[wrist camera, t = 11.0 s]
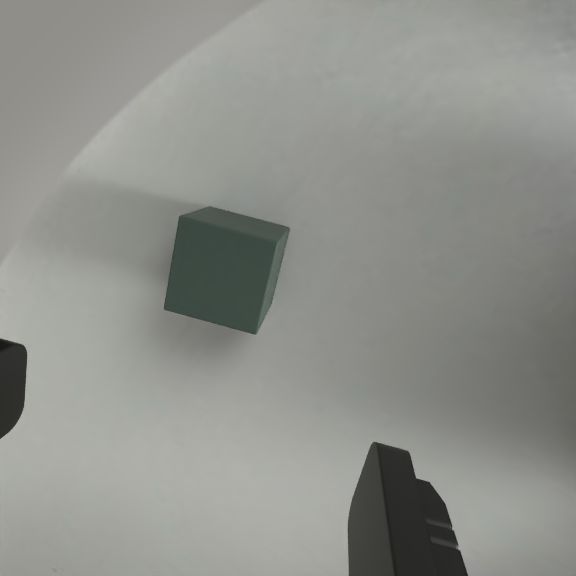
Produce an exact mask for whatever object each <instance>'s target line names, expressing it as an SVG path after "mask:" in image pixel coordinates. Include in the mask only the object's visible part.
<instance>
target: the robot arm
mask: <svg viewBox="0 0 576 576" xmlns="http://www.w3.org/2000/svg"><path fill="white" fill-rule="evenodd" d="M26 367H27V350H26V348H25V347H24V346H23V345H22V344H19V343H15V342H11V341H8V340H4V339H0V439H1V438H2V437H3V436H5V435H6V434H7V433H8V432H9V431H10V430H11V429H12V428H13V427H14V426H15V425H16V423H17V422H18V420H19V418H20V416H21V414H22V411H23V408H24V400H25V384H26ZM348 557H349V576H468V574H467V571H466V568H465V565H464V562H463V559H462V555H461V552H460V550H458V543H457V540H456V536H455V533H454V531H453V530H452V524H451V520H450V517H449V514H448V511H447V508H446V505H445V503H444V501H443V500H442V499H441V497H440V496H439V494H438V493H437V492H436V490H435V489H434V488H433V486H432V485H431V484H430V482H427V481H423V480H420V479H416V476H415V472H414V468H413V464H412V460H411V456H410V453H409V452H408V451H406V450H403V449H399V448H395V447H392V446H388V445H384V444H381V443H377V442H373V443H372V445H371V447H370V449H369V452H368V455H367V458H366V461H365V463H364V466H363V469H362V472H361V475H360V478H359V481H358V484H357V487H356V490H355V492H354V495H353V498H352V502H351V506H350V512H349V519H348Z"/></svg>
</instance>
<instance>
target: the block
mask: <svg viewBox="0 0 576 576" xmlns="http://www.w3.org/2000/svg"><path fill="white" fill-rule="evenodd" d="M289 230H290V228H289V227H286V226H282V225H278V224H274V223H270V222H267V221H263V220H259V219H255V218H251V217H248V216H244V215H240V214H236V213H232V212H229V211H225V210H221V209H217V208H213V207H207V208H203V209H200V210H197V211H194V212H191V213H188V214H185V215H181V216H180V217H179V221H178V227H177V233H176V239H175V245H174V251H173V257H172V263H171V269H170V275H169V281H168V287H167V293H166V299H165V305H164V309H165V310H168V311H171V312H175V313H178V314H182V315H186V316H189V317H193V318H197V319H200V320H204V321H208V322H211V323H215V324H218V325H222V326H226V327H229V328H233V329H237V330H240V331H244V332H248V333H251V334H257V332H258V330H259V328H260V326H261V324H262V322H263V320H264V318H265V316H266V314H267V312H268V310H269V308H270V306H271V303H272V299H273V295H274V291H275V287H276V283H277V279H278V275H279V271H280V267H281V263H282V259H283V254H284V250H285V246H286V242H287V238H288V234H289Z"/></svg>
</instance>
